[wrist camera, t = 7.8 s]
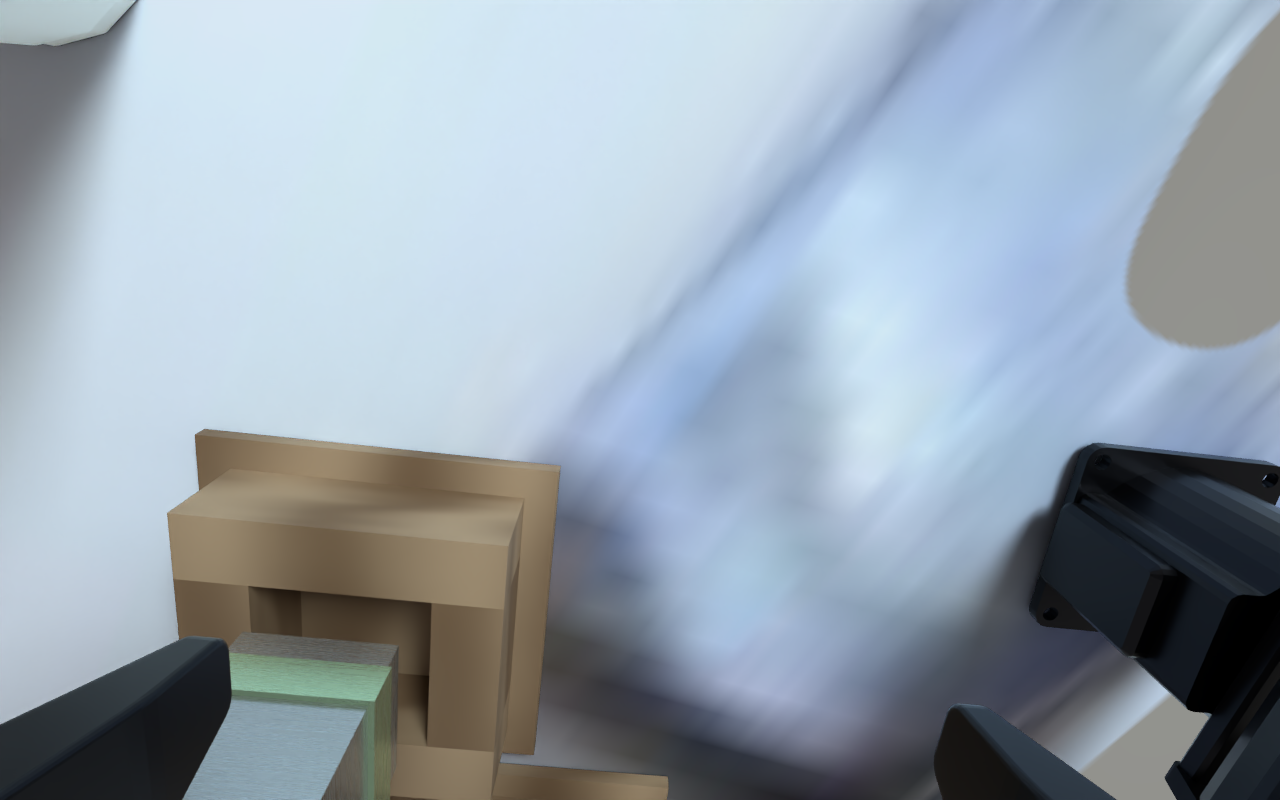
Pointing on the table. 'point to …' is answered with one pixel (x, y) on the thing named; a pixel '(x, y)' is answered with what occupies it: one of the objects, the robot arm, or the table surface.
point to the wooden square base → (571, 785)
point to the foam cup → (57, 20)
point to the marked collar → (384, 581)
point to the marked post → (305, 722)
